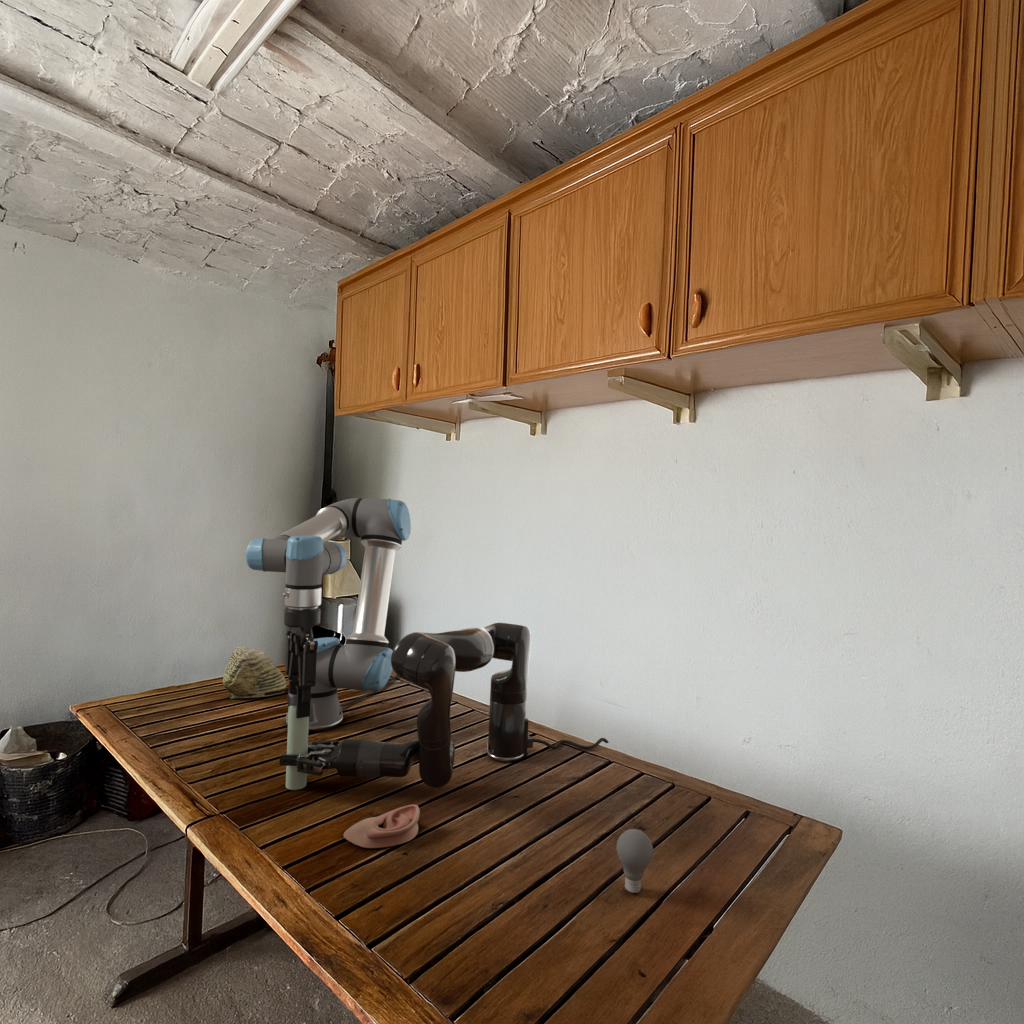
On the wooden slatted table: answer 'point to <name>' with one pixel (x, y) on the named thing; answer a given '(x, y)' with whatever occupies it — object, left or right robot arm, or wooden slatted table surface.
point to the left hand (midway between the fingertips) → (298, 713)
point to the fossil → (252, 674)
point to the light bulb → (634, 857)
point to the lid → (293, 697)
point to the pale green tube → (296, 748)
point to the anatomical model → (385, 828)
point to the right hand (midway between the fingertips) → (284, 755)
